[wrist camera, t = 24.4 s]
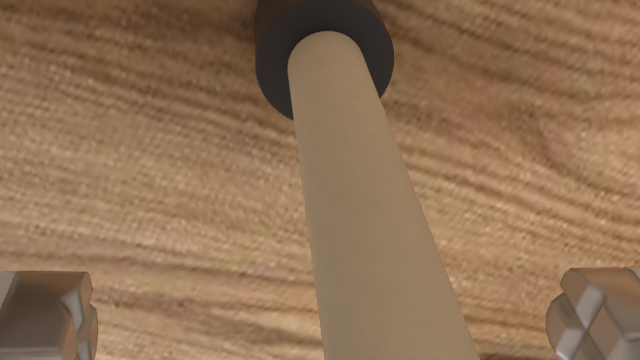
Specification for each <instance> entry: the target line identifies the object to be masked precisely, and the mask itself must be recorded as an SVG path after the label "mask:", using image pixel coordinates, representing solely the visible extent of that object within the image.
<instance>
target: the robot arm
mask: <svg viewBox="0 0 640 360" xmlns="http://www.w3.org/2000/svg"><path fill="white" fill-rule="evenodd" d="M560 286H561V288H562V290H563V293H562V294H560V295H559V296H558V297H556V298H555V299H554V300H552V301H551V303H550V306H549V308H548V311H547V313H546V332H547V336H548V339H549V342H550V344H551V346H552V348H553V350H554V352H555V353H556V354H557V355H558V356H560V357H561V358H562V359H564V360H640V267H623V268H621V267H602V268H571V269H570V270H568V271H567V272H566V273H565V274H564V276H563V278H562V280H561V282H560ZM92 290H93V287H92V282H91V277H90V274H89V273H88V272H72V271H0V360H95V355H96V350H97V340H98V318H97V311H96V308H95V307H94V306H92V305H91V304H90V303H89V302H90V298H91V294H92Z"/></svg>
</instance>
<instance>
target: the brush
mask: <svg viewBox="0 0 640 360" xmlns="http://www.w3.org/2000/svg"><path fill="white" fill-rule="evenodd" d="M254 26H255V62H256V75H257V80H258V83H259V86H260V88H261V91H262V93H263V95H264V96H265V98H266V99H267V101H268V102H269V103H270V104H271V105H272V106H273V107H274V108H275V109H276V110H277V111H278V112H279V113H281V114H282V115H284V116H285V117H287V118H289V119H291V120H293V121H294V125H295V132H296V140H297V148H298V156H299V164H300V171H301V179H302V187H303V195H304V202H305V210H306V218H307V226H308V233H309V241H310V249H311V257H312V265H313V272H314V280H315V288H316V296H317V303H318V311H319V319H320V327H321V334H322V342H323V350H324V358H325V360H480V358H479V355H478V352H477V350H476V347H475V345H474V342H473V339H472V337H471V334H470V332H469V329H468V327H467V324H466V321H465V319H464V316H463V314H462V311H461V308H460V306H459V303H458V301H457V298H456V295H455V293H454V290H453V288H452V285H451V282H450V280H449V277H448V275H447V272H446V270H445V267H444V264H443V262H442V259H441V257H440V254H439V251H438V249H437V246H436V244H435V241H434V238H433V236H432V233H431V231H430V228H429V225H428V223H427V220H426V218H425V215H424V213H423V210H422V207H421V205H420V202H419V200H418V197H417V194H416V192H415V189H414V187H413V184H412V181H411V179H410V176H409V174H408V171H407V168H406V166H405V163H404V161H403V158H402V156H401V153H400V150H399V148H398V145H397V143H396V140H395V137H394V135H393V132H392V130H391V127H390V124H389V122H388V119H387V117H386V114H385V112H384V109H383V106H382V104H381V101H380V97H381V96H382V95H383V93H384V92H385V90H386V88H387V86H388V84H389V82H390V79H391V76H392V72H393V67H394V50H393V44H392V41H391V38H390V35H389V33H388V31H387V29H386V27H385V25H384V23H383V21H382V19H381V17H380V15H379V13H378V11H377V9H376V7H375V5H374V4H373V2H372V0H261V1H260V4H259V6H258V9H257V12H256V16H255V24H254Z"/></svg>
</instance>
